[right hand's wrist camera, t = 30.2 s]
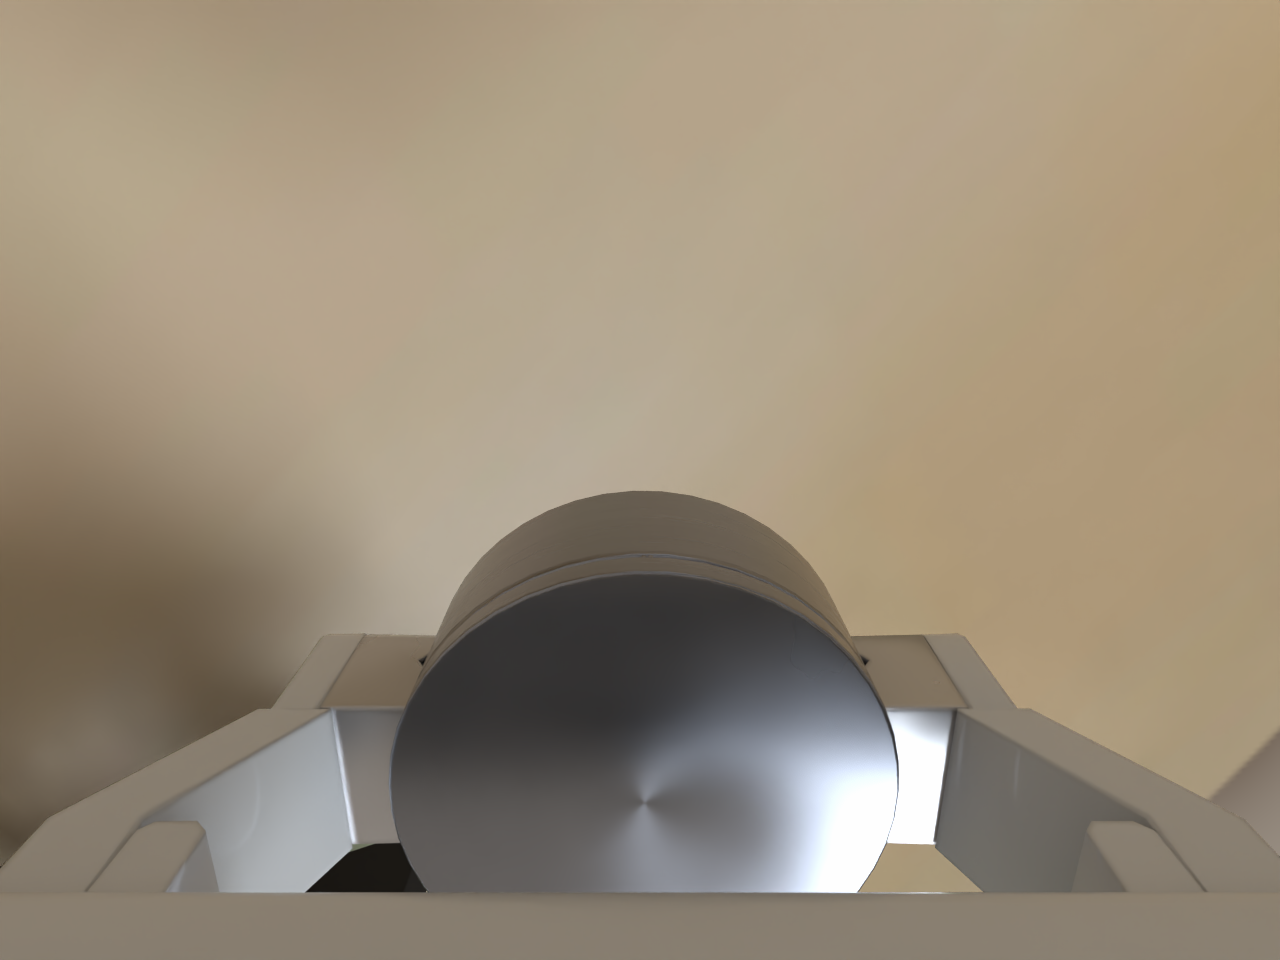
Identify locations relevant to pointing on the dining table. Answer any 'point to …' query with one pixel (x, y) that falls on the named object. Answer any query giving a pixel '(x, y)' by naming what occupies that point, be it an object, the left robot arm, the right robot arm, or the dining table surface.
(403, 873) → the left robot arm
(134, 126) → the dining table surface
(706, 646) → the lid
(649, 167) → the dining table surface
